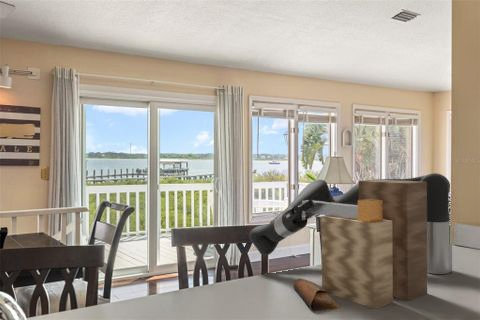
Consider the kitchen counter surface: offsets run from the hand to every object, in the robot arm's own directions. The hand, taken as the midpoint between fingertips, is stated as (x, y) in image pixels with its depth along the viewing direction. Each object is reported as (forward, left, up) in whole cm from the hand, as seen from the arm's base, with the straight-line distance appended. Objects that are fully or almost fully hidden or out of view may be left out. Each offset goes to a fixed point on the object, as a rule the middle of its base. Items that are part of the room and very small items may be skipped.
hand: (322, 201), depth 126 cm
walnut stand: (-19, +7, -26) cm, 33 cm away
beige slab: (-6, +11, -26) cm, 28 cm away
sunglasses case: (+6, +11, -26) cm, 29 cm away
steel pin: (-3, +5, -4) cm, 7 cm away
